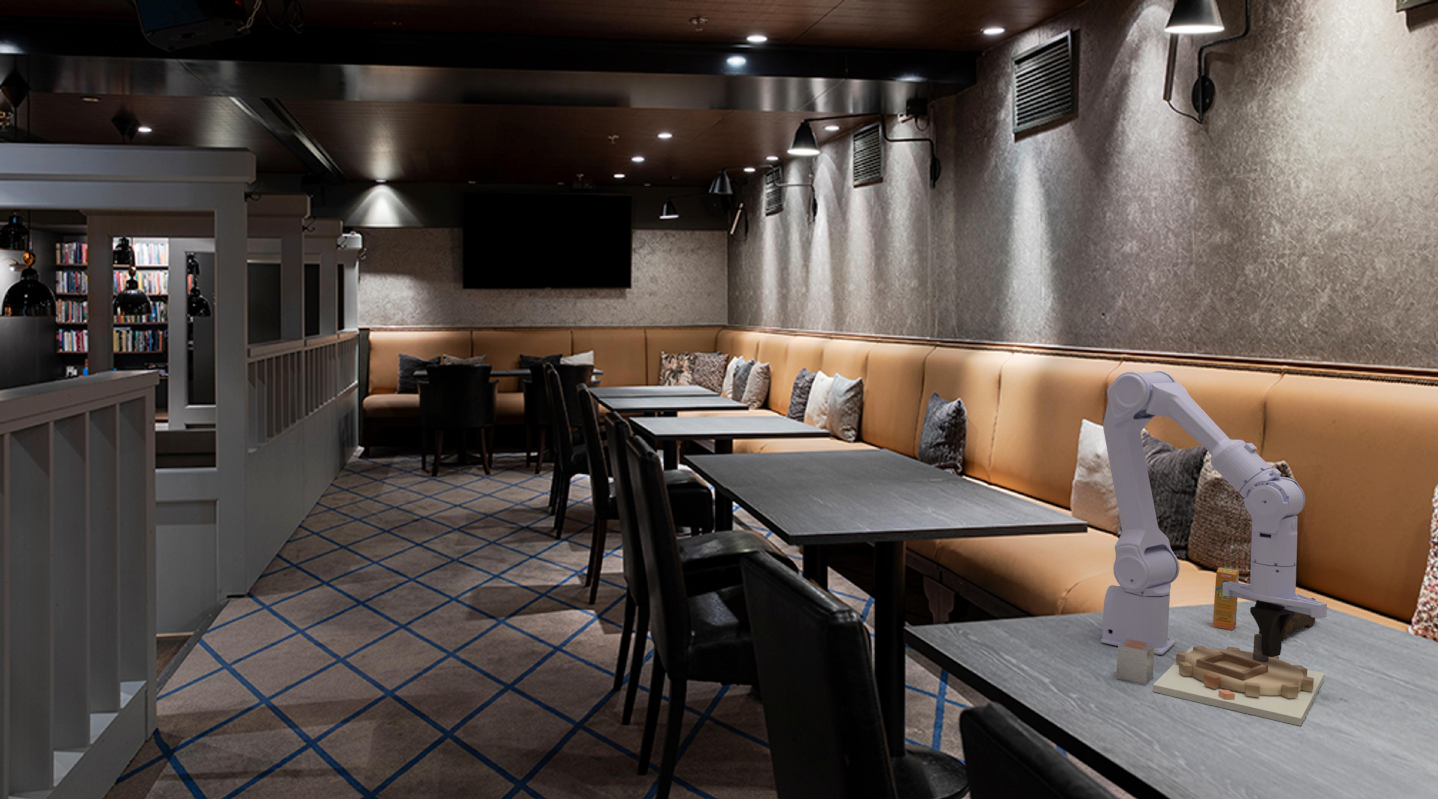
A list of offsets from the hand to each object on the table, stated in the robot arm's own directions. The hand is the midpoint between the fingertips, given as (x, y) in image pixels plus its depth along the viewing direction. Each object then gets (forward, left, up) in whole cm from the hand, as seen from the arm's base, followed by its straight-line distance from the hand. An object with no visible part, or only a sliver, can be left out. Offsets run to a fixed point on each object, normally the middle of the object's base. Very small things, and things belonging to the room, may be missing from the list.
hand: (1270, 655), depth 141 cm
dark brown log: (-2, +31, -4) cm, 32 cm away
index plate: (-3, -5, -4) cm, 7 cm away
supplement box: (-11, +25, -4) cm, 28 cm away
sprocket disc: (-3, -4, -3) cm, 6 cm away
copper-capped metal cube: (-15, -12, -4) cm, 20 cm away
